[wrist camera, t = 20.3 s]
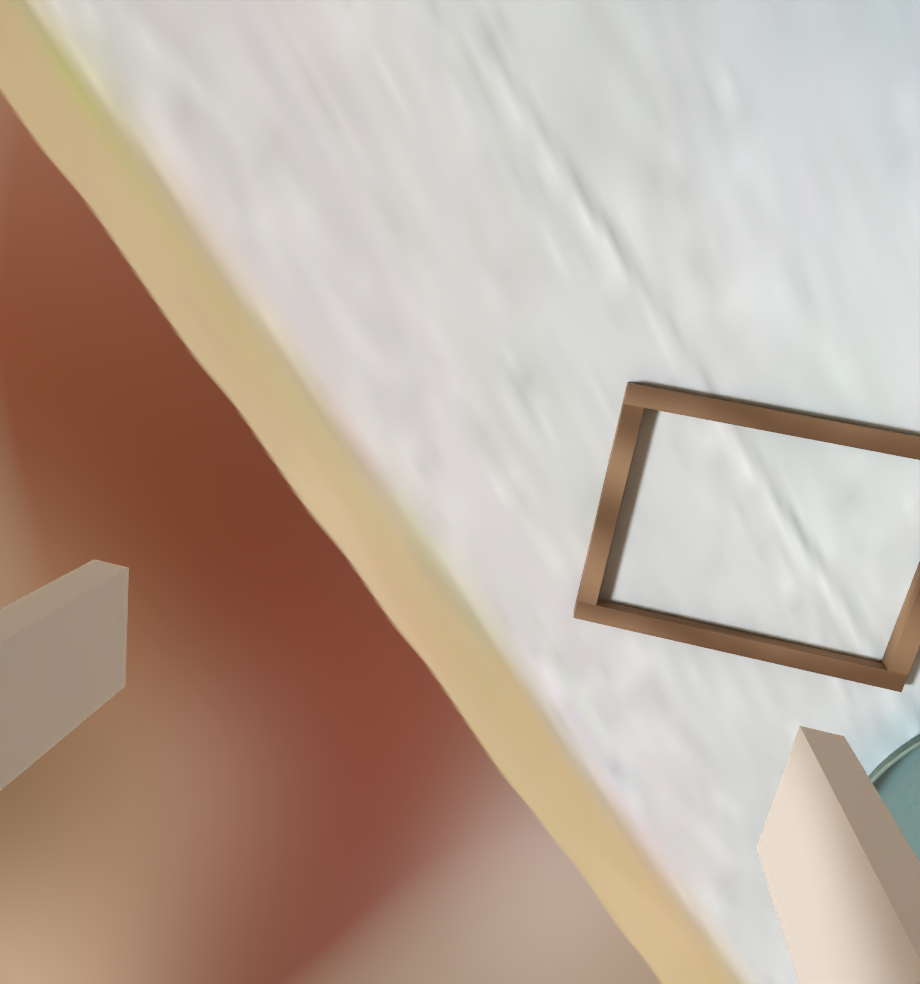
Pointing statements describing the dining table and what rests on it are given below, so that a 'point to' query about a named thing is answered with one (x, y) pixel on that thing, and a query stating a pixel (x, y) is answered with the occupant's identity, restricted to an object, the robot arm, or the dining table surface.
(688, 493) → the dining table surface
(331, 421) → the dining table surface
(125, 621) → the robot arm
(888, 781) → the teal round plate
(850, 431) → the wooden picture frame
